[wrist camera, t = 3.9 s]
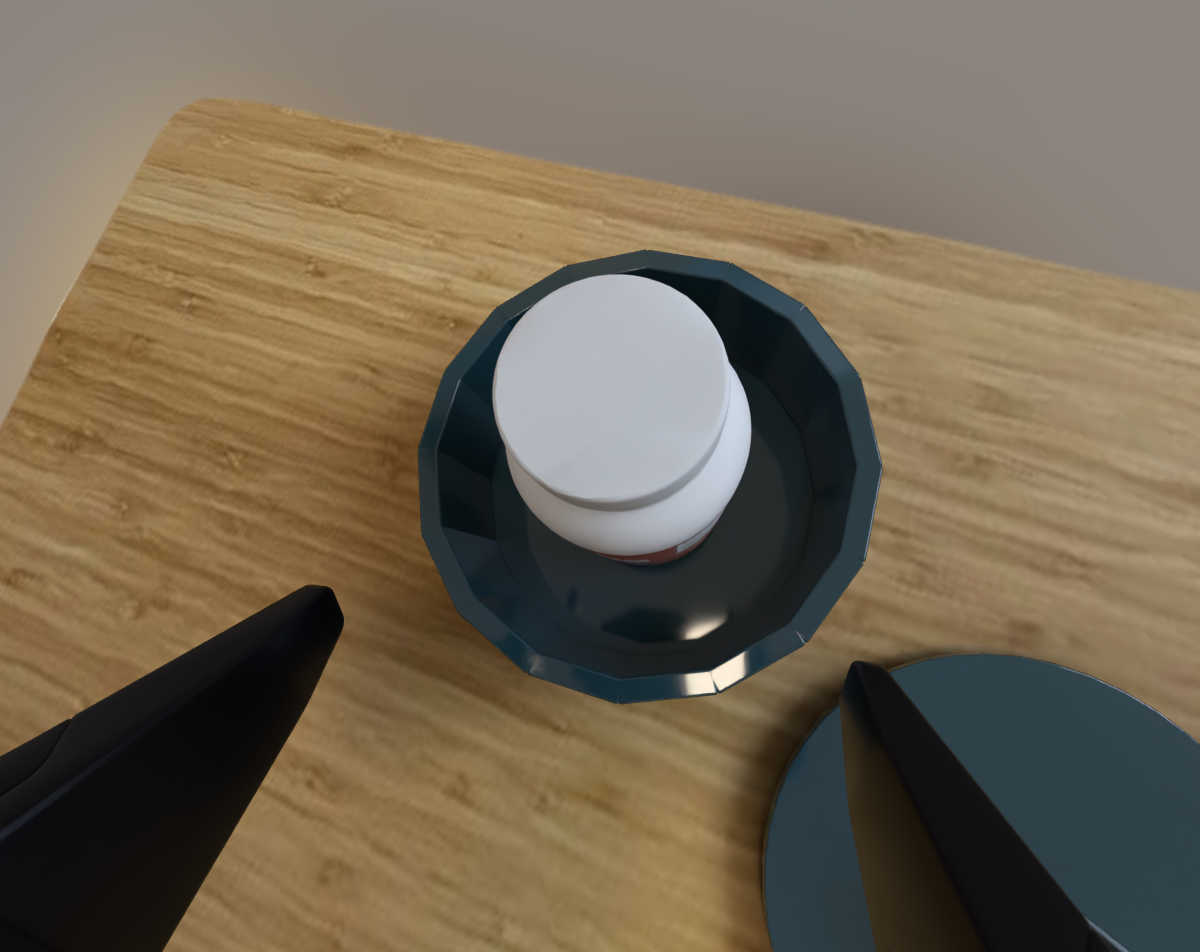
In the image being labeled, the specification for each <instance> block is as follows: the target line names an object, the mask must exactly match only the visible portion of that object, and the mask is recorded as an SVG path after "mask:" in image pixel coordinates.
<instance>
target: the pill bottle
mask: <svg viewBox="0 0 1200 952" xmlns="http://www.w3.org/2000/svg"><path fill="white" fill-rule="evenodd" d="M492 394H493V399H492V400H493V408H494V415H495V420H496V424H497V427H498V430H499V432H500V435H501V438H502V440H503V442H504V444H505V448H506V455H507V460H508V465H509V469H510V472H511V475H512V478H513V481H514V483H515V485H516V488H517V489H518V491H519V493H520V495H521V496H522V498H523V500H524V501H525V503H526V504H527V505H528V507H529V508H530V509H531V511H532V512H533V513H534V514H535V515H536V516H537V517H538V518H539V519H540V521H542V522H543V523H544V524H545V525H546V526H547V527H549V528H550V529H551V530H552V531H554V532H555V533H557V534H558V535H559V536H561V537H562V538H564V539H566V540H567V541H569V542H571V543H573V544H575V545H577V546H580V547H582V548H584V549H587V550H589V551H591V552H594V553H596V554H598V555H601V556H603V557H606V558H608V559H611V560H613V561H616V562H619V563H623V564H627V565H635V566H653V565H660V564H665V563H668V562H671V561H674V560H677V559H679V558H681V557H683V556H684V555H686V554H688V553H689V552H691V551H692V550H694V549H695V548H696V547H697V546H698V545H700V544H701V543H702V542H703V541H704V540H705V539H706V537H707V536H708V535H709V534H710V532H711V531H712V530H713V528H714V526H715V525H716V523H717V521H718V519H719V518H720V516H721V514H722V512H723V511H724V509H725V507H726V506H727V504H728V502H729V501H730V499H731V498H732V496H733V494H734V492H735V490H736V488H737V486H738V484H739V482H740V480H741V477H742V475H743V472H744V469H745V466H746V463H747V459H748V456H749V449H750V443H751V417H750V411H749V405H748V401H747V397H746V394H745V391H744V388H743V386H742V384H741V382H740V380H739V378H738V376H737V374H736V372H735V370H734V369H733V368H732V366H731V365H730V363H729V361H728V357H727V354H726V351H725V347H724V344H723V342H722V340H721V338H720V336H719V334H718V332H717V330H716V328H715V326H714V325H713V324H712V322H711V321H710V319H709V318H708V317H707V315H706V314H705V313H704V312H703V311H702V310H701V309H700V308H699V307H698V306H697V305H696V304H695V303H694V302H693V301H691V300H690V299H689V298H688V297H687V296H685V295H684V294H682V293H680V292H679V291H677V290H675V289H673V288H672V287H670V286H668V285H665V284H663V283H660V282H657V281H654V280H651V279H648V278H644V277H639V276H633V275H622V274H621V275H600V276H595V277H589V278H586V279H583V280H580V281H576V282H573V283H571V284H568V285H566V286H563V287H561V288H559V289H557V290H556V291H554V292H552V293H550V294H549V295H547V296H546V297H544V298H543V299H542V300H540V301H539V302H538V303H536V304H535V305H534V306H533V307H532V308H531V309H530V310H528V311H527V312H526V313H525V314H524V316H523V317H522V318H521V319H520V320H519V321H518V322H517V324H516V325H515V327H514V328H513V329H512V331H511V333H510V334H509V336H508V337H507V339H506V341H505V344H504V346H503V348H502V350H501V352H500V355H499V358H498V360H497V364H496V368H495V373H494V379H493V389H492Z"/></svg>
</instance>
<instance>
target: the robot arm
mask: <svg viewBox="0 0 1200 952" xmlns="http://www.w3.org/2000/svg"><path fill="white" fill-rule="evenodd" d="M343 626H344V616H343V613H342V611H341V608H340V606H339V604H338V601H337V599H336V596H335V594H334V592H333V590H332V589H331V588H329V587H327V586H320V585H306V586H304V587H302V588H300V589H298V590H296V591H295V592H293V593H291V594H289V595H287V596H286V597H284V598H282V599H280V600H279V601H277V602H275V603H273V604H271V605H270V606H268V607H266V608H264V609H263V610H261V611H259V612H257V613H255V614H254V615H252V616H250V617H248V618H247V619H245V620H243V621H241V622H240V623H238V624H236V625H234V626H232V627H231V628H229V629H227V630H225V631H224V632H222V633H220V634H218V635H216V636H215V637H213V638H211V639H209V640H208V641H206V642H204V643H202V644H200V645H199V646H197V647H195V648H193V649H192V650H190V651H188V652H186V653H185V654H183V655H181V656H179V657H177V658H176V659H174V660H172V661H170V662H169V663H167V664H165V665H163V666H161V667H160V668H158V669H156V670H154V671H153V672H151V673H149V674H147V675H145V676H144V677H142V678H140V679H138V680H137V681H135V682H133V683H131V684H129V685H128V686H126V687H124V688H122V689H121V690H119V691H117V692H115V693H113V694H112V695H110V696H108V697H106V698H105V699H103V700H101V701H99V702H97V703H96V704H94V705H92V706H90V707H89V708H87V709H85V710H83V711H81V712H80V713H78V714H76V715H75V716H74V717H73V718H72V719H67V720H65V721H63V722H62V723H60V724H58V725H56V726H55V727H53V728H51V729H49V730H48V731H46V732H44V733H42V734H41V735H39V736H37V737H35V738H33V739H31V740H30V741H28V742H26V743H24V744H22V745H20V746H19V747H17V748H15V749H13V750H11V751H9V752H8V753H6V754H4V755H2V756H0V952H162V951H163V950H164V948H165V946H166V944H167V943H168V941H169V939H170V938H171V936H172V934H173V933H174V931H175V929H176V927H177V926H178V924H179V922H180V921H181V919H182V917H183V916H184V914H185V912H186V910H187V909H188V907H189V905H190V904H191V902H192V900H193V899H194V897H195V895H196V894H197V892H198V890H199V888H200V887H201V885H202V883H203V882H204V880H205V878H206V877H207V875H208V873H209V871H210V870H211V868H212V866H213V865H214V863H215V861H216V860H217V858H218V856H219V854H220V853H221V851H222V849H223V848H224V846H225V844H226V843H227V841H228V839H229V837H230V836H231V834H232V832H233V831H234V829H235V827H236V826H237V824H238V822H239V821H240V819H241V817H242V815H243V814H244V812H245V810H246V809H247V807H248V805H249V804H250V802H251V800H252V798H253V797H254V795H255V793H256V792H257V790H258V788H259V787H260V785H261V783H262V781H263V780H264V778H265V776H266V775H267V773H268V771H269V770H270V768H271V766H272V764H273V763H274V761H275V759H276V758H277V756H278V754H279V753H280V751H281V749H282V748H283V746H284V744H285V742H286V741H287V739H288V737H289V736H290V734H291V732H292V731H293V729H294V727H295V725H296V724H297V722H298V720H299V719H300V717H301V715H302V713H303V711H304V710H305V708H306V706H307V704H308V702H309V700H310V698H311V696H312V694H313V692H314V690H315V687H316V685H317V683H318V681H319V679H320V677H321V675H322V673H323V670H324V668H325V666H326V664H327V662H328V660H329V658H330V655H331V653H332V651H333V649H334V647H335V645H336V643H337V640H338V638H339V636H340V634H341V632H342V629H343ZM839 705H840V719H841V731H842V743H843V754H844V766H845V778H846V790H847V800H848V809H849V815H850V821H851V827H852V832H853V837H854V842H855V847H856V852H857V857H858V862H859V867H860V873H861V878H862V883H863V888H864V893H865V898H866V903H867V908H868V913H869V919H870V924H871V929H872V934H873V939H874V944H875V949H876V952H1113V951H1112V950H1111V949H1110V948H1109V946H1108V945H1107V944H1106V943H1105V941H1104V940H1103V939H1102V938H1101V936H1100V935H1099V934H1098V933H1097V931H1095V930H1094V929H1089V922H1088V921H1087V919H1086V918H1085V917H1084V915H1083V914H1082V913H1081V912H1080V910H1079V909H1078V908H1077V907H1076V905H1075V904H1074V903H1073V902H1072V900H1071V899H1070V898H1069V897H1068V895H1067V894H1066V893H1065V892H1064V890H1063V889H1062V888H1061V887H1060V885H1059V884H1058V883H1057V882H1056V880H1055V879H1054V878H1053V877H1052V875H1051V874H1050V873H1049V872H1048V870H1047V869H1046V868H1045V867H1044V865H1043V864H1042V863H1041V862H1040V860H1039V859H1038V858H1037V857H1036V855H1035V854H1034V853H1033V852H1032V850H1031V849H1030V848H1029V847H1028V845H1027V844H1026V843H1025V842H1024V840H1023V839H1022V838H1021V837H1020V835H1019V834H1018V833H1017V832H1016V830H1015V829H1014V828H1013V827H1012V825H1011V824H1010V823H1009V822H1008V820H1007V819H1006V818H1005V817H1004V815H1003V814H1002V813H1001V812H1000V810H999V809H998V808H997V807H996V805H995V804H994V803H993V802H992V800H991V799H990V798H989V797H988V795H987V794H986V793H985V792H984V790H983V789H982V788H981V787H980V785H979V784H978V783H977V782H976V780H975V779H974V778H973V777H972V775H971V774H970V773H969V772H968V770H967V769H966V768H965V767H964V765H963V764H962V763H961V762H960V760H959V759H958V758H957V757H956V755H955V754H954V753H953V752H952V750H951V749H950V748H949V747H948V745H947V744H946V743H945V742H944V740H943V739H942V738H941V737H940V735H939V734H938V733H937V732H936V730H935V729H934V728H933V727H932V725H931V724H930V723H929V722H928V720H927V719H926V718H925V717H924V715H923V714H922V713H921V712H920V710H919V709H918V708H917V707H916V705H915V704H914V703H913V702H912V700H911V699H910V698H909V697H908V695H907V694H906V693H905V692H904V690H903V689H902V688H901V687H900V685H899V684H898V683H897V682H896V680H895V679H894V678H893V677H892V675H891V674H890V673H889V672H888V670H887V669H886V668H885V667H884V666H882V665H881V664H877V663H871V662H864V661H855V662H853V663H852V664H851V666H850V669H849V671H848V674H847V677H846V679H845V682H844V685H843V687H842V690H841V693H840V704H839Z"/></svg>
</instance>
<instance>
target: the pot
mask: <svg viewBox="0 0 1200 952" xmlns="http://www.w3.org/2000/svg"><path fill="white" fill-rule="evenodd" d="M621 274H622V275H633V276H639V277H644V278H648V279H651V280H654V281H657V282H660V283H663V284H665V285H668V286H670V287H672V288H673V289H675V290H677V291H679V292H680V293H682V294H684V295H685V296H687V297H688V298H689V299H690V300H691V301H693V302H694V303H695V304H696V305H697V306H698V307H699V308H700V309H701V310H702V311H703V312H704V313H705V314H706V315H707V317H708V318H709V319H710V321H711V322H712V324H713V325H714V326H715V328H716V330H717V332H718V334H719V336H720V338H721V340H722V342H723V344H724V347H725V351H726V354H727V357H728V361H729V363H730V365H731V366H732V368H733V369H734V370H735V372H736V374H737V376H738V378H739V380H740V382H741V384H742V386H743V388H744V391H745V394H746V397H747V401H748V405H749V411H750V417H751V443H750V449H749V456H748V459H747V463H746V466H745V469H744V472H743V475H742V477H741V480H740V482H739V484H738V486H737V488H736V490H735V492H734V494H733V496H732V498H731V499H730V501H729V502H728V504H727V506H726V507H725V509H724V511H723V512H722V514H721V516H720V518H719V519H718V521H717V523H716V525H715V526H714V528H713V530H712V531H711V532H710V534H709V535H708V536H707V537H706V539H705V540H704V541H703V542H702V543H701V544H700V545H698V546H697V547H696V548H695V549H694V550H692V551H691V552H689V553H688V554H686V555H684V556H683V557H681V558H679V559H677V560H674V561H671V562H668V563H665V564H660V565H653V566H635V565H627V564H623V563H619V562H616V561H613V560H611V559H608V558H606V557H603V556H601V555H598V554H596V553H594V552H591V551H589V550H587V549H584V548H582V547H580V546H577V545H575V544H573V543H571V542H569V541H567V540H566V539H564V538H562V537H561V536H559V535H558V534H557V533H555V532H554V531H552V530H551V529H550V528H549V527H547V526H546V525H545V524H544V523H543V522H542V521H540V519H539V518H538V517H537V516H536V515H535V514H534V513H533V512H532V511H531V509H530V508H529V507H528V505H527V504H526V503H525V501H524V500H523V498H522V496H521V495H520V493H519V491H518V489H517V488H516V485H515V483H514V481H513V478H512V475H511V472H510V469H509V465H508V460H507V455H506V448H505V444H504V442H503V440H502V438H501V435H500V432H499V430H498V427H497V424H496V420H495V415H494V408H493V400H492V399H493V394H492V389H493V379H494V373H495V368H496V364H497V360H498V358H499V355H500V352H501V350H502V348H503V346H504V344H505V341H506V339H507V337H508V336H509V334H510V333H511V331H512V329H513V328H514V327H515V325H516V324H517V322H518V321H519V320H520V319H521V318H522V317H523V316H524V314H525V313H526V312H527V311H528V310H530V309H531V308H532V307H533V306H534V305H535V304H536V303H538V302H539V301H540V300H542V299H543V298H544V297H546V296H547V295H549V294H550V293H552V292H554V291H556V290H557V289H559V288H561V287H563V286H566V285H568V284H571V283H573V282H576V281H580V280H583V279H586V278H589V277H595V276H600V275H621ZM418 449H419V450H418V473H419V495H420V517H421V532H422V537H423V539H424V541H425V544H426V546H427V548H428V550H429V552H430V554H431V557H432V559H433V561H434V563H435V565H436V567H437V569H438V572H439V574H440V576H441V578H442V580H443V582H444V585H445V587H446V589H447V591H448V593H449V595H450V597H451V600H452V602H453V604H454V606H455V608H456V610H457V612H459V614H460V615H461V616H462V617H463V618H464V619H465V620H466V621H467V622H469V623H470V624H471V625H472V626H473V627H474V628H475V629H476V630H477V631H479V632H480V633H481V634H482V635H483V636H484V637H485V638H486V639H488V640H489V641H490V642H491V643H492V644H493V645H494V646H495V647H496V648H498V649H499V650H500V651H501V652H502V653H503V654H504V655H505V656H506V657H508V658H509V659H510V660H511V661H512V662H513V663H514V664H515V665H516V666H518V667H519V668H520V669H521V670H522V671H523V672H524V673H528V675H530V676H533V677H536V678H539V679H542V680H545V681H548V682H551V683H554V684H557V685H560V686H563V687H566V688H569V689H572V690H575V691H578V692H581V693H584V694H587V695H590V696H593V697H596V698H599V699H602V700H605V701H608V702H612V703H615V704H618V702H619V704H631V703H641V702H651V701H661V700H671V699H681V698H691V697H701V696H711V695H716V694H717V693H722V692H724V691H726V690H728V689H729V688H731V687H733V686H735V685H736V684H738V683H740V682H741V681H743V680H745V679H747V678H748V677H750V676H752V675H754V674H755V673H757V672H759V671H761V670H762V669H764V668H766V667H768V666H769V665H771V664H773V663H775V662H776V661H778V660H780V659H781V658H783V657H785V656H787V655H788V654H790V653H792V652H794V651H795V650H797V649H799V648H801V647H802V646H804V645H805V642H806V643H807V642H808V641H809V640H810V639H811V637H812V636H813V634H814V633H815V632H816V630H817V629H818V627H819V626H820V625H821V623H822V622H823V620H824V619H825V618H826V616H827V615H828V613H829V612H830V611H831V609H832V608H833V606H834V605H835V604H836V602H837V601H838V599H839V598H840V597H841V595H842V594H843V592H844V591H845V590H846V588H847V587H848V585H849V584H850V583H851V581H852V580H853V578H854V577H855V576H856V574H857V573H858V571H859V570H860V569H861V567H862V566H863V563H864V562H863V561H865V560H866V555H867V550H868V545H869V540H870V534H871V529H872V524H873V518H874V513H875V508H876V502H877V497H878V492H879V487H880V481H881V476H882V471H883V468H882V461H881V457H880V453H879V449H878V445H877V441H876V437H875V433H874V429H873V425H872V421H871V417H870V413H869V409H868V405H867V401H866V396H865V392H864V388H863V384H862V380H861V378H859V374H858V372H857V371H856V370H855V369H854V367H853V366H852V365H851V363H850V362H849V361H848V360H847V358H846V357H845V356H844V354H843V353H842V352H841V351H840V349H839V348H838V347H837V345H836V344H835V343H834V341H833V340H832V339H831V338H830V336H829V335H828V334H827V332H826V331H825V330H824V329H823V327H822V326H821V325H820V323H819V322H818V321H817V319H816V318H815V317H814V316H813V314H812V313H811V312H810V310H809V309H808V308H807V307H805V305H804V304H802V303H801V302H799V301H797V300H795V299H794V298H792V297H790V296H788V295H787V294H785V293H783V292H781V291H780V290H778V289H776V288H774V287H773V286H771V285H769V284H767V283H766V282H764V281H762V280H760V279H759V278H757V277H755V276H753V275H752V274H750V273H748V272H746V271H745V270H743V269H741V268H740V267H738V266H736V265H734V264H733V263H731V264H730V263H729V262H724V261H718V260H711V259H705V258H698V257H692V256H685V255H679V254H672V253H666V252H659V251H653V250H648V251H647V250H641V251H636V252H631V253H626V254H621V255H617V256H612V257H607V258H602V259H597V260H592V261H587V262H582V263H577V264H572V265H567V266H566V267H565V266H564V267H563V268H561V269H559V270H558V271H556V272H554V273H553V274H551V275H549V276H548V277H546V278H544V279H543V280H541V281H539V282H538V283H536V284H534V285H533V286H531V287H529V288H528V289H526V290H524V291H523V292H521V293H519V294H518V295H516V296H514V297H513V298H511V299H509V300H508V301H506V302H504V303H503V304H501V305H499V306H498V307H496V309H494V310H493V312H492V313H491V314H490V315H489V317H488V318H487V319H486V320H485V321H484V323H483V324H482V325H481V326H480V328H479V329H478V330H477V331H476V332H475V334H474V335H473V336H472V337H471V339H470V340H469V341H468V342H467V344H466V345H465V346H464V347H463V348H462V350H461V351H460V352H459V353H458V355H457V356H456V357H455V358H454V359H453V361H452V362H451V363H450V364H449V366H448V367H447V368H446V369H445V373H443V376H442V379H441V382H440V385H439V388H438V390H437V393H436V396H435V399H434V402H433V405H432V408H431V411H430V414H429V417H428V420H427V423H426V426H425V429H424V432H423V435H422V438H421V440H420V443H419V446H418Z"/></svg>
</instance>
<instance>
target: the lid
mask: <svg viewBox="0 0 1200 952" xmlns="http://www.w3.org/2000/svg"><path fill="white" fill-rule="evenodd" d="M888 672H889V673H890V674H891V675H892V677H893V678H894V679H895V680H896V682H897V683H898V684H899V685H900V687H901V688H902V689H903V690H904V692H905V693H906V694H907V695H908V697H909V698H910V699H911V700H912V702H913V703H914V704H915V705H916V707H917V708H918V709H919V710H920V712H921V713H922V714H923V715H924V717H925V718H926V719H927V720H928V722H929V723H930V724H931V725H932V727H933V728H934V729H935V730H936V732H937V733H938V734H939V735H940V737H941V738H942V739H943V740H944V742H945V743H946V744H947V745H948V747H949V748H950V749H951V750H952V752H953V753H954V754H955V755H956V757H957V758H958V759H959V760H960V762H961V763H962V764H963V765H964V767H965V768H966V769H967V770H968V772H969V773H970V774H971V775H972V777H973V778H974V779H975V780H976V782H977V783H978V784H979V785H980V787H981V788H982V789H983V790H984V792H985V793H986V794H987V795H988V797H989V798H990V799H991V800H992V802H993V803H994V804H995V805H996V807H997V808H998V809H999V810H1000V812H1001V813H1002V814H1003V815H1004V817H1005V818H1006V819H1007V820H1008V822H1009V823H1010V824H1011V825H1012V827H1013V828H1014V829H1015V830H1016V832H1017V833H1018V834H1019V835H1020V837H1021V838H1022V839H1023V840H1024V842H1025V843H1026V844H1027V845H1028V847H1029V848H1030V849H1031V850H1032V852H1033V853H1034V854H1035V855H1036V857H1037V858H1038V859H1039V860H1040V862H1041V863H1042V864H1043V865H1044V867H1045V868H1046V869H1047V870H1048V872H1049V873H1050V874H1051V875H1052V877H1053V878H1054V879H1055V880H1056V882H1057V883H1058V884H1059V885H1060V887H1061V888H1062V889H1063V890H1064V892H1065V893H1066V894H1067V895H1068V897H1069V898H1070V899H1071V900H1072V902H1073V903H1074V904H1075V905H1076V907H1077V908H1078V909H1079V910H1080V912H1081V913H1082V914H1083V915H1084V917H1085V918H1086V919H1087V921H1088V922H1089V929H1094V930H1095V931H1097V933H1098V934H1099V935H1100V936H1101V938H1102V939H1103V940H1104V941H1105V943H1106V944H1107V945H1108V946H1109V948H1110V949H1111V950H1112V951H1113V952H1200V744H1199V743H1198V742H1197V741H1196V740H1195V739H1193V738H1192V737H1191V736H1190V735H1189V734H1188V733H1187V732H1185V731H1184V730H1182V729H1181V728H1180V727H1178V726H1177V725H1176V724H1174V723H1173V722H1172V721H1170V720H1169V719H1168V718H1166V717H1165V716H1164V715H1162V714H1161V713H1160V712H1158V711H1157V710H1155V709H1154V708H1152V707H1150V706H1149V705H1147V704H1145V703H1143V702H1142V701H1140V700H1138V699H1137V698H1135V697H1133V696H1132V695H1130V694H1128V693H1127V692H1125V691H1123V690H1121V689H1119V688H1117V687H1114V686H1112V685H1110V684H1108V683H1106V682H1103V681H1101V680H1099V679H1097V678H1095V677H1093V676H1090V675H1088V674H1085V673H1082V672H1079V671H1076V670H1073V669H1070V668H1067V667H1064V666H1061V665H1057V664H1054V663H1049V662H1045V661H1040V660H1035V659H1030V658H1025V657H1021V656H1015V655H1006V654H994V653H983V652H979V653H953V654H945V655H939V656H933V657H927V658H921V659H918V660H914V661H911V662H908V663H905V664H902V665H898V666H895V667H892V668H890V669H888ZM839 704H840V698H839V699H838V700H837V701H836V702H835V703H834V704H833V705H831V706H830V707H829V708H828V709H827V710H826V711H825V712H824V713H823V714H822V715H820V717H819V718H818V719H817V720H816V722H815V723H814V724H813V725H812V726H811V728H810V729H809V730H808V731H807V733H806V734H805V735H804V736H803V737H802V739H801V741H800V742H799V744H798V746H797V747H796V749H795V751H794V752H793V754H792V756H791V757H790V759H789V761H788V762H787V764H786V767H785V769H784V771H783V774H782V776H781V778H780V781H779V783H778V786H777V788H776V790H775V794H774V797H773V801H772V805H771V808H770V812H769V816H768V819H767V825H766V832H765V840H764V847H763V867H762V889H763V898H764V907H765V917H766V924H767V928H768V933H769V937H770V941H771V946H772V950H773V952H876V949H875V944H874V939H873V934H872V929H871V924H870V919H869V913H868V908H867V903H866V898H865V893H864V888H863V883H862V878H861V873H860V867H859V862H858V857H857V852H856V847H855V842H854V837H853V832H852V827H851V821H850V815H849V809H848V800H847V790H846V778H845V766H844V754H843V743H842V731H841V719H840V705H839Z"/></svg>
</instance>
